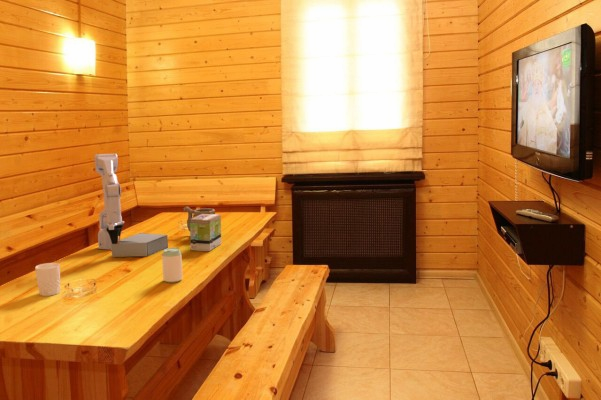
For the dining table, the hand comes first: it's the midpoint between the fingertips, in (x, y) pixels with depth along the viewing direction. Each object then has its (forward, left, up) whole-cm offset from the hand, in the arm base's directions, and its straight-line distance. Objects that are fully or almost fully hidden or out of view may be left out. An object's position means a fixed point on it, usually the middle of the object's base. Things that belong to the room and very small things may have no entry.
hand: (115, 242), depth 244 cm
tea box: (+29, +28, -7) cm, 41 cm away
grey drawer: (+5, +3, -6) cm, 8 cm away
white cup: (+8, -48, -7) cm, 49 cm away
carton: (+4, +14, -7) cm, 16 cm away
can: (+42, -22, -7) cm, 48 cm away
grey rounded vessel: (+15, +47, -7) cm, 50 cm away
